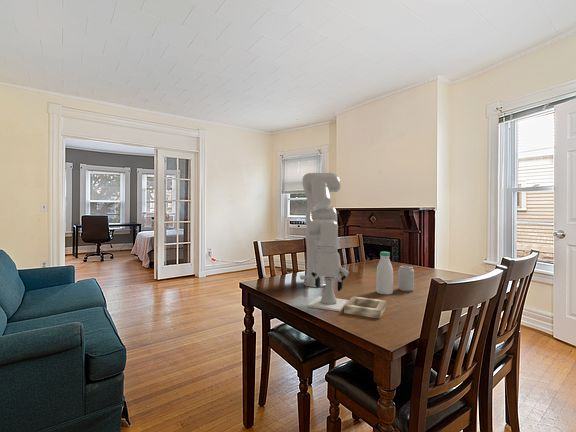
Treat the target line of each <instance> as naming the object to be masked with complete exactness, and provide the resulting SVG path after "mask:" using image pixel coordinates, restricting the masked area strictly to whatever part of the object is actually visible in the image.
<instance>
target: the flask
mask: <svg viewBox="0 0 576 432" xmlns="http://www.w3.org/2000/svg"><path fill="white" fill-rule="evenodd" d="M324 281H326V285H325V286H324V290H323V294H322V298H321V301H320V302H322V303H323V304H336V303H337V300H336V298H337V297H336V295H335V291H334V289H333V283H332V282H333V279H332V278H324Z"/></svg>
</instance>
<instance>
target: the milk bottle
mask: <svg viewBox="0 0 576 432" xmlns="http://www.w3.org/2000/svg"><path fill="white" fill-rule="evenodd" d="M379 256H380V259H379V261H378V263H377V265H376V266H377V267H376V275H375V276H376V277H375V278H376V281H375V282H376V283H375V284H376V288H375V289H376V293H377V294H380V295H392V294H393V293H394V292H393V291H394V270H393V269H394V268H393V265H392V263H391V259H390V257H391V252H390V251H380V253H379Z"/></svg>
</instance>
